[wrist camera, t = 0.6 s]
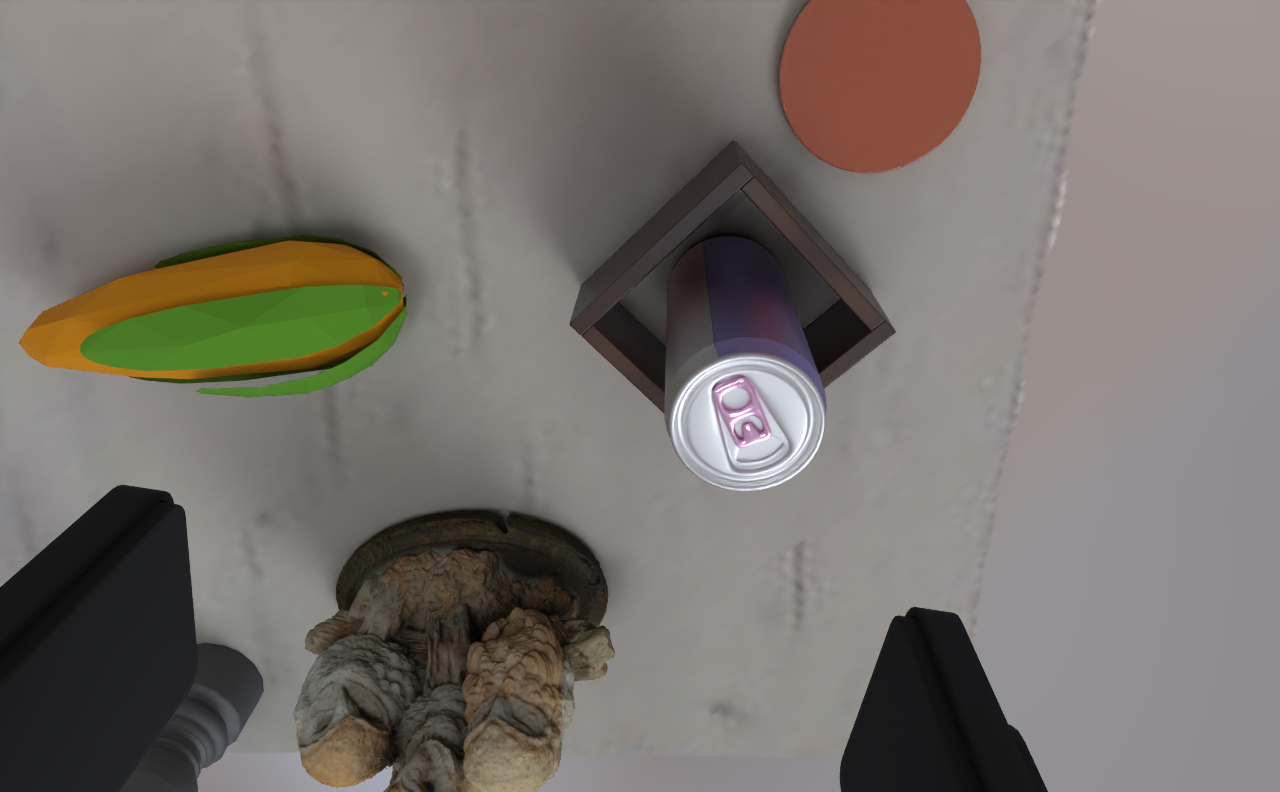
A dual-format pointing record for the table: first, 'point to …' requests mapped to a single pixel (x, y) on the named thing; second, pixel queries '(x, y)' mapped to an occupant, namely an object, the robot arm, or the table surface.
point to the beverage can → (739, 369)
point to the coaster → (878, 78)
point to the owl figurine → (453, 656)
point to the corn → (233, 317)
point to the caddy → (597, 310)
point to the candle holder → (200, 723)
